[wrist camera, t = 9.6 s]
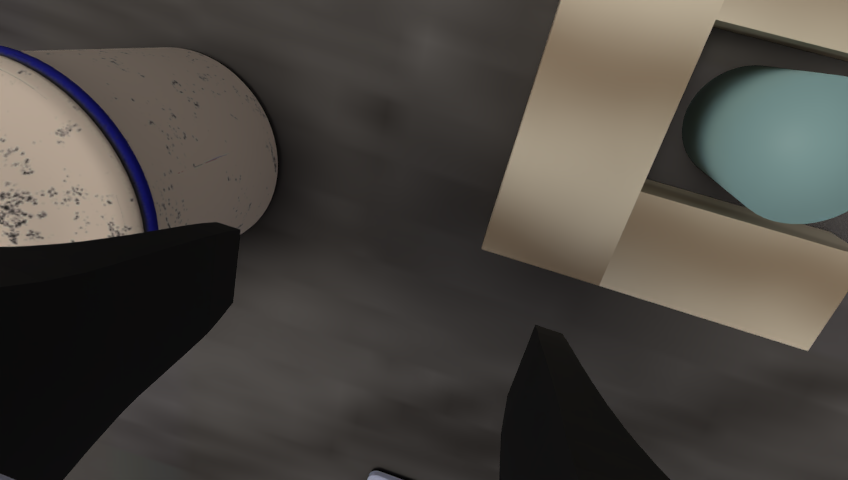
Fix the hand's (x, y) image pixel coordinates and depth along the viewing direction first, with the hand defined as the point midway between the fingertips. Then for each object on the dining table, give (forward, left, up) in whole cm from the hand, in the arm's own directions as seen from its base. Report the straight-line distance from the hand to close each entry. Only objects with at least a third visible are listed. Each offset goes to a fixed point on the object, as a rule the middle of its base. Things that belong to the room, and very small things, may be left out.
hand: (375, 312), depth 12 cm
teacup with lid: (-3, +12, -11) cm, 16 cm away
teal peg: (+6, -10, -10) cm, 15 cm away
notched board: (+6, -8, -10) cm, 14 cm away
